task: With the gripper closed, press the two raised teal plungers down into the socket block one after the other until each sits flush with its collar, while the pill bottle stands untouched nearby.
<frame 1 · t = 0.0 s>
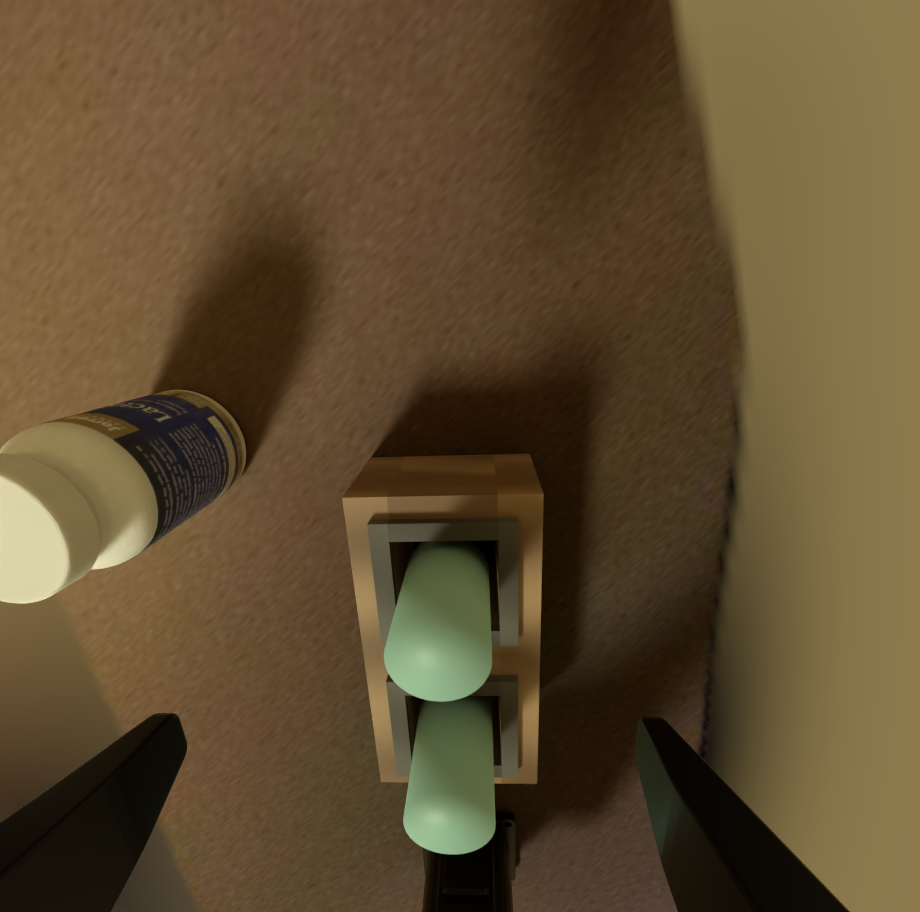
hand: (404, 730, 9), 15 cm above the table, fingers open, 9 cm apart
plunger 2: (443, 609, 17), point 7 cm above the table, slide at 4.0 cm
pill bottle: (197, 441, 23), on the table
socket block: (456, 590, 25), on the table
plunger 1: (452, 759, 20), point 7 cm above the table, slide at 4.0 cm
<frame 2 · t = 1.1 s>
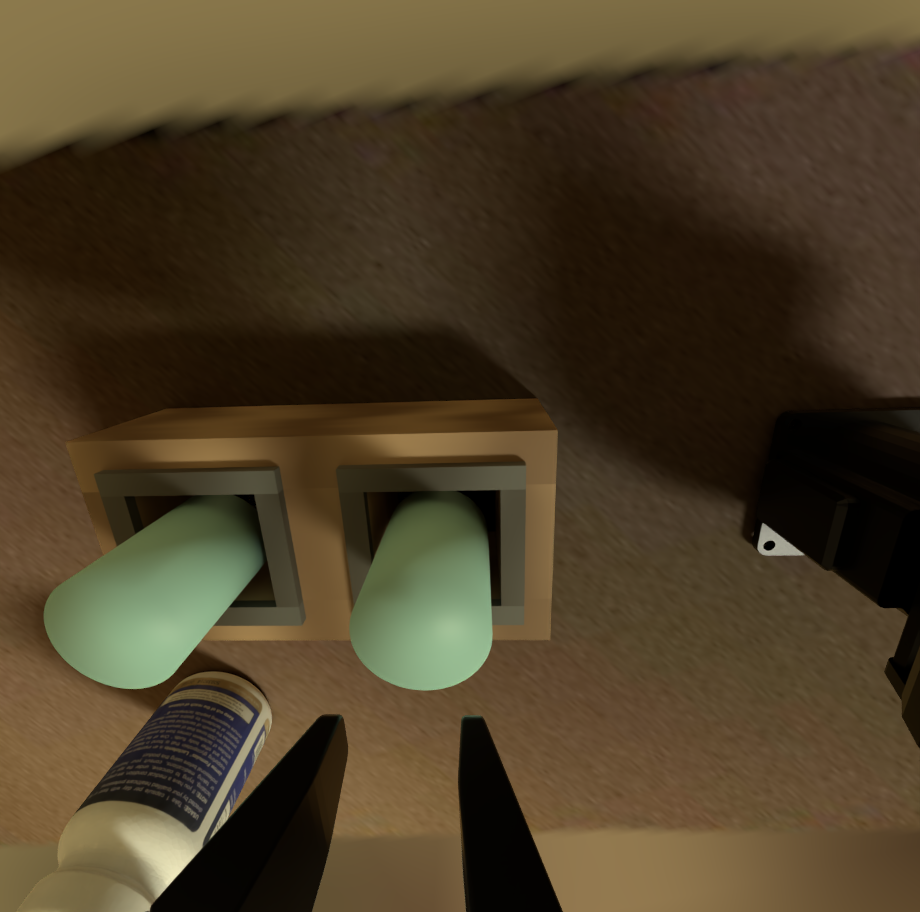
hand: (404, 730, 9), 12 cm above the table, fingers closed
plunger 2: (178, 576, 14), point 7 cm above the table, slide at 4.0 cm
pill bottle: (227, 703, 25), on the table
socket block: (358, 490, 20), on the table
plunger 1: (431, 574, 14), point 7 cm above the table, slide at 4.0 cm
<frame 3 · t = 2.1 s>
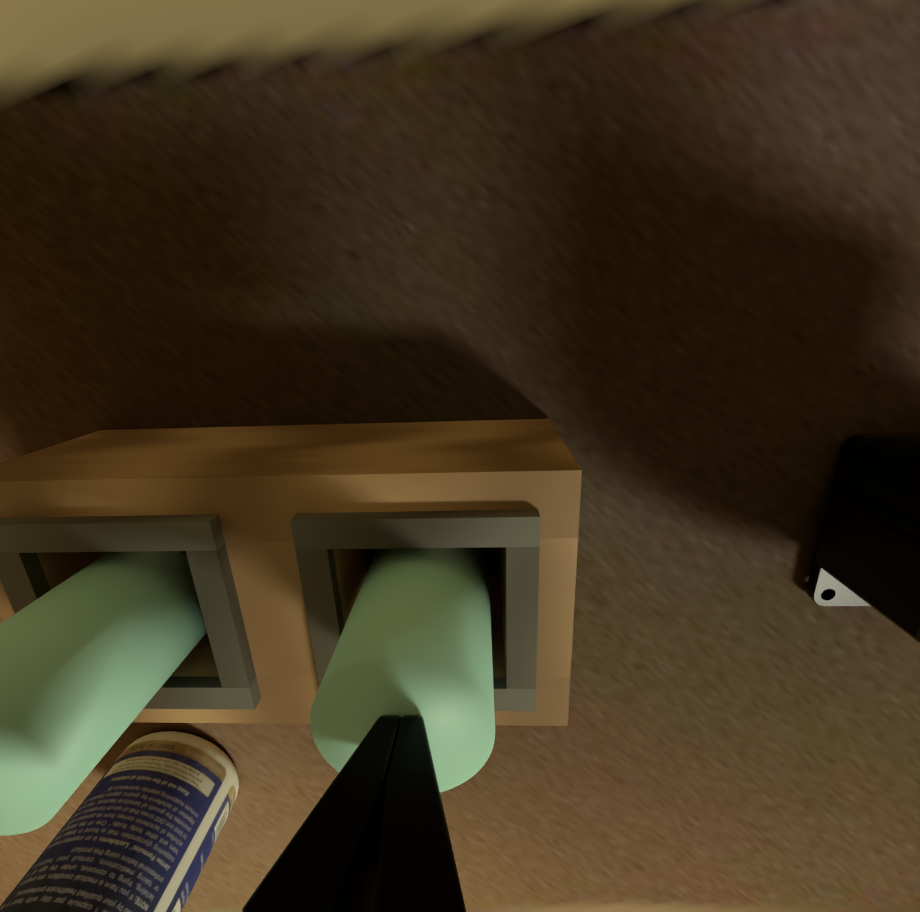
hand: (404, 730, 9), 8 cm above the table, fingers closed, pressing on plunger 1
plunger 2: (82, 662, 11), point 7 cm above the table, slide at 4.0 cm
pill bottle: (187, 765, 22), on the table
socket block: (333, 526, 17), on the table
plunger 1: (419, 636, 11), point 6 cm above the table, slide at 3.1 cm, touching gripper
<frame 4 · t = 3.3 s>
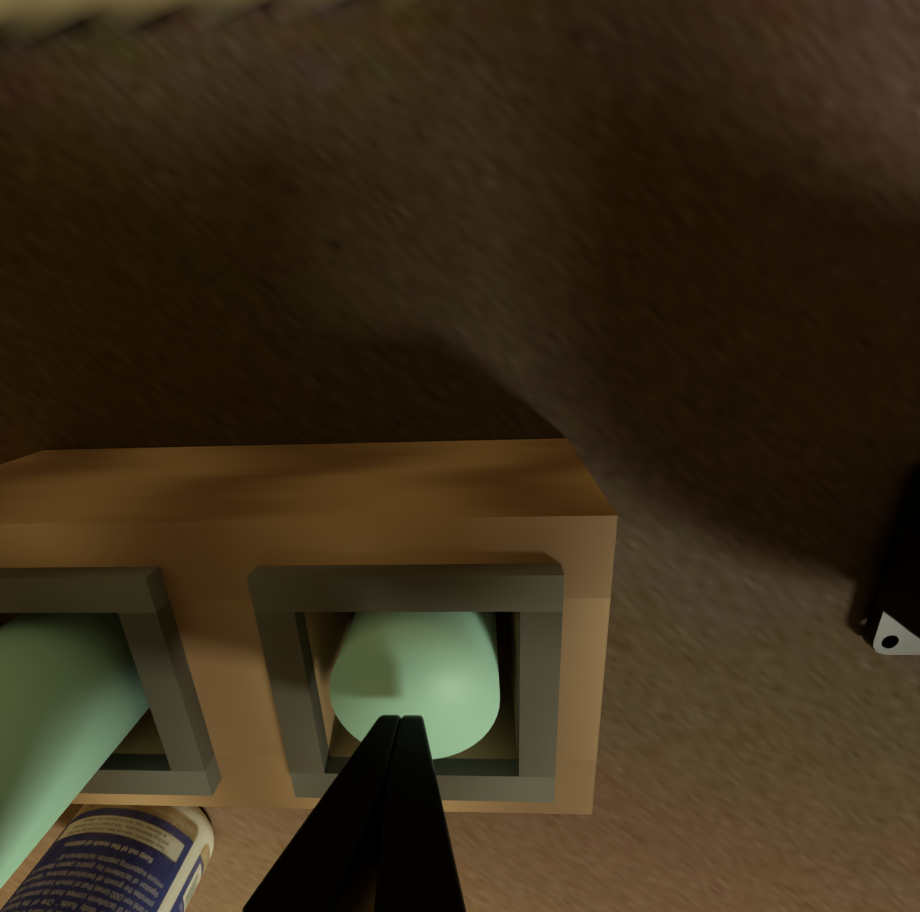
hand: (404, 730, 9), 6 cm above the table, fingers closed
pill bottle: (157, 817, 19), on the table
socket block: (316, 560, 15), on the table
plunger 1: (427, 615, 12), point 3 cm above the table, slide at 0.0 cm
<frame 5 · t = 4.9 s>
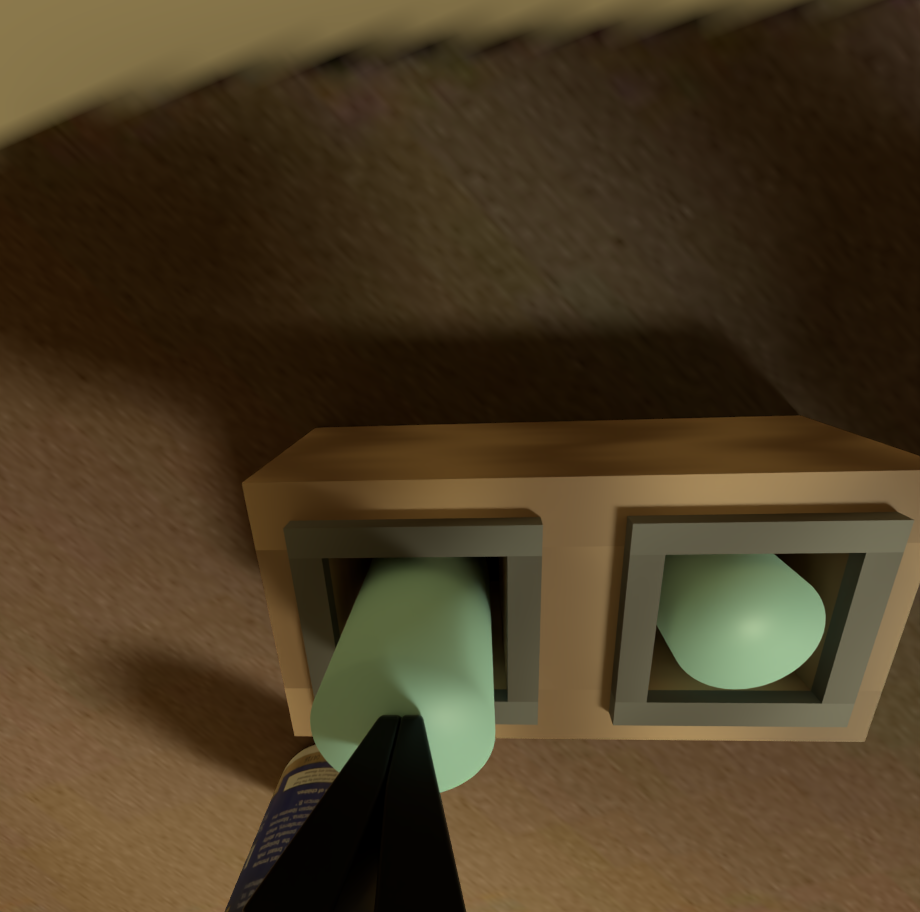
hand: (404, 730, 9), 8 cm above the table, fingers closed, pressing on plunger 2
plunger 2: (419, 636, 11), point 5 cm above the table, slide at 2.7 cm, touching gripper
pill bottle: (347, 775, 21), on the table
socket block: (548, 528, 16), on the table
plunger 1: (696, 571, 13), point 3 cm above the table, slide at 0.0 cm
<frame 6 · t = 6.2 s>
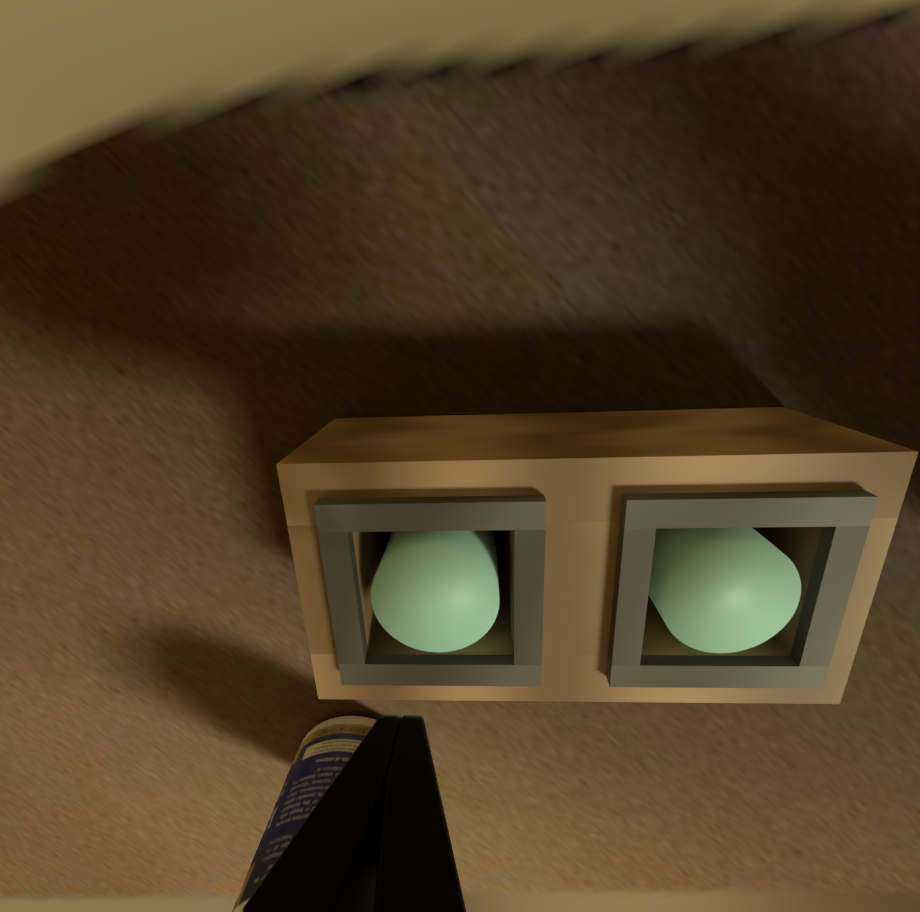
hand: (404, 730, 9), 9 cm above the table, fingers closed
plunger 2: (442, 551, 15), point 3 cm above the table, slide at 0.0 cm
pill bottle: (360, 749, 22), on the table
socket block: (550, 513, 17), on the table
plunger 1: (687, 549, 14), point 3 cm above the table, slide at 0.0 cm
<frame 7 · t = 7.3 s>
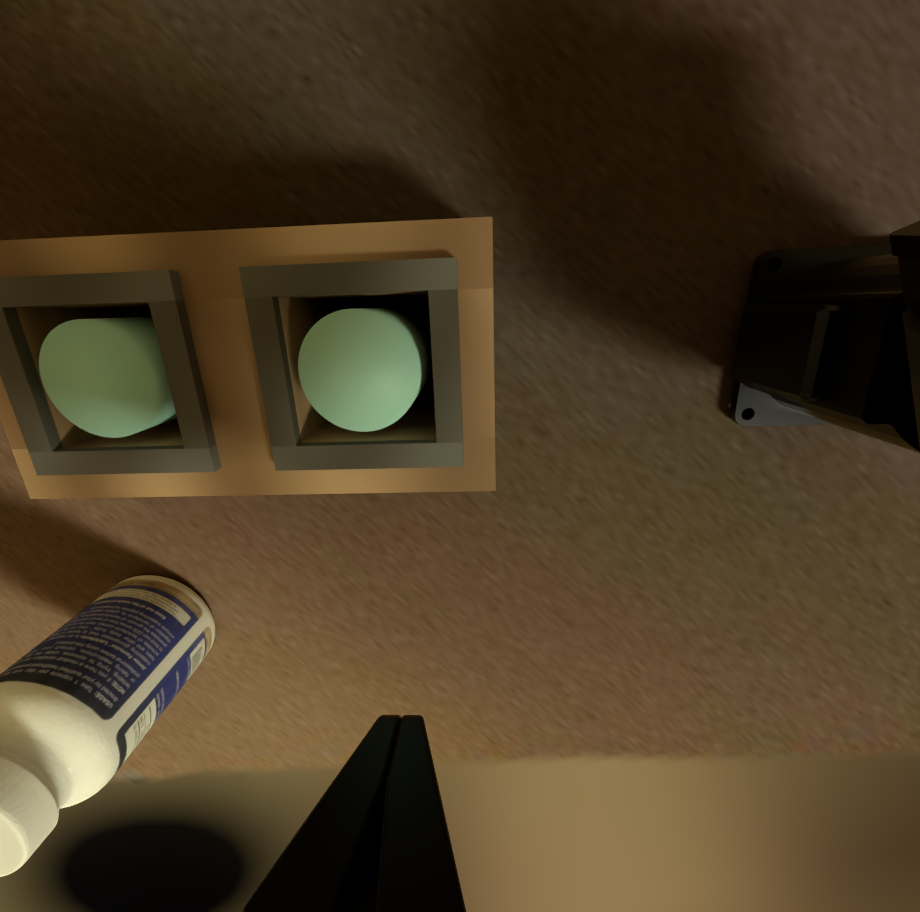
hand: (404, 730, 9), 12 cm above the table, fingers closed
plunger 2: (157, 369, 16), point 3 cm above the table, slide at 0.0 cm
pill bottle: (168, 615, 23), on the table
socket block: (296, 357, 18), on the table
plunger 1: (377, 362, 15), point 3 cm above the table, slide at 0.0 cm
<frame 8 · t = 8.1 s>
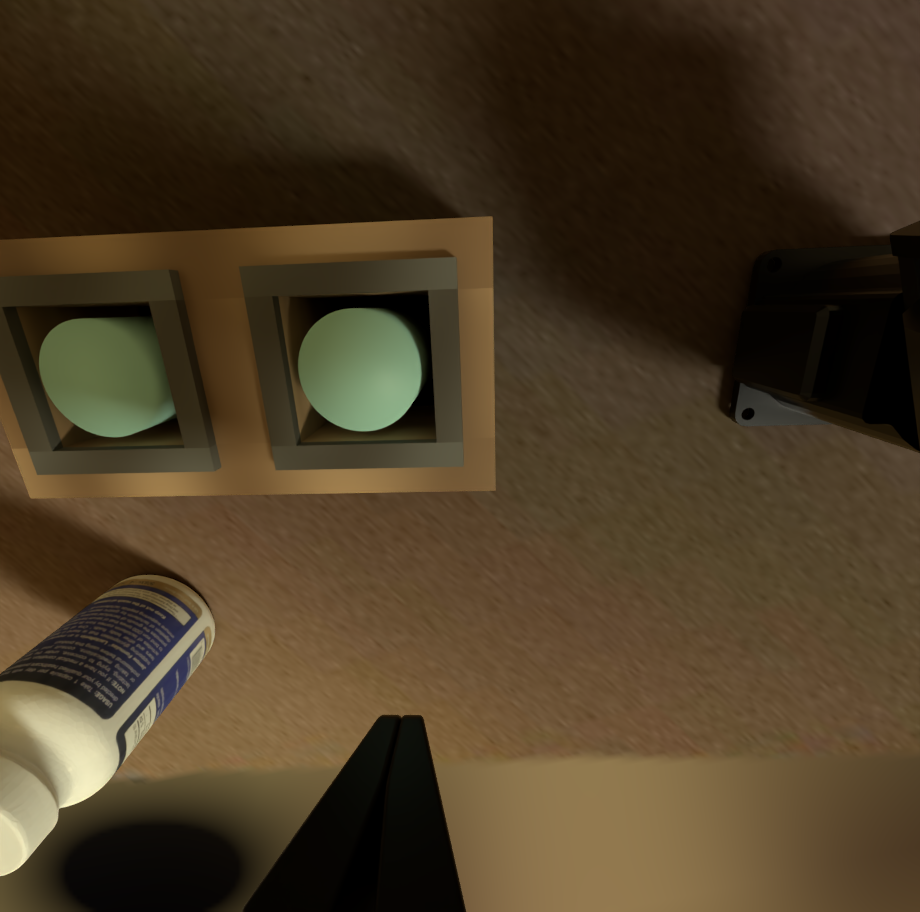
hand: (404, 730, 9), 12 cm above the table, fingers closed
plunger 2: (157, 368, 16), point 3 cm above the table, slide at 0.0 cm
pill bottle: (168, 614, 23), on the table
socket block: (296, 356, 18), on the table
plunger 1: (377, 361, 15), point 3 cm above the table, slide at 0.0 cm
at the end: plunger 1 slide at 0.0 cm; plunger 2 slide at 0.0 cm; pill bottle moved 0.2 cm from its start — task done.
